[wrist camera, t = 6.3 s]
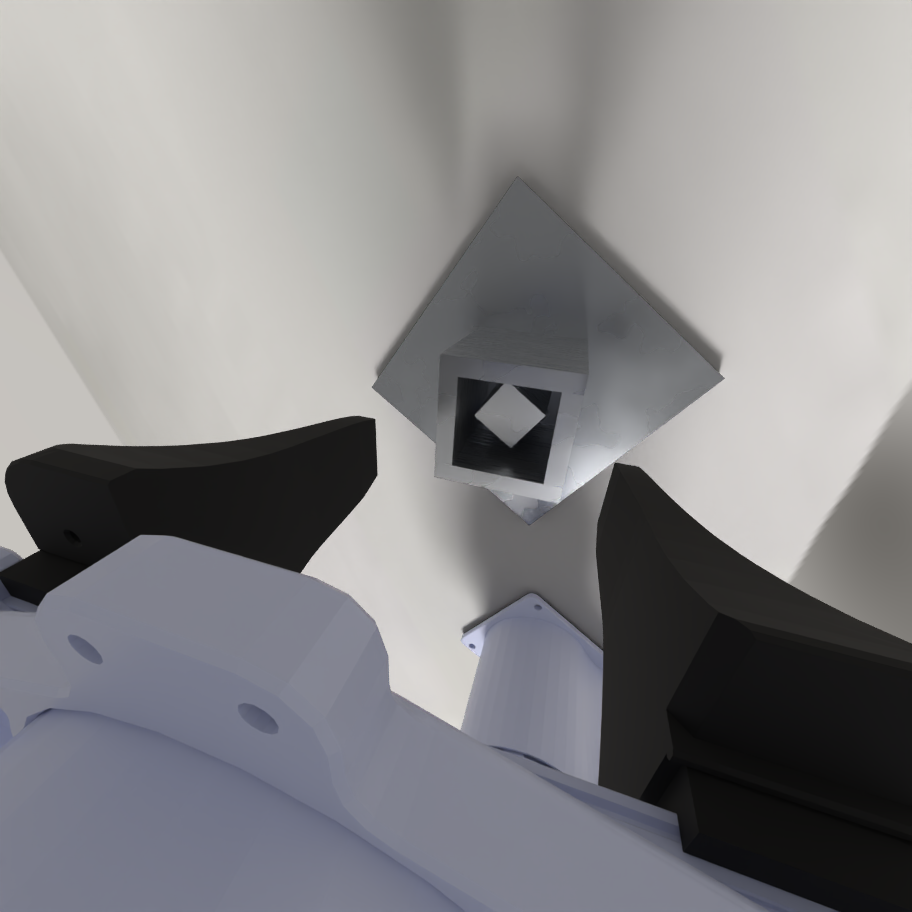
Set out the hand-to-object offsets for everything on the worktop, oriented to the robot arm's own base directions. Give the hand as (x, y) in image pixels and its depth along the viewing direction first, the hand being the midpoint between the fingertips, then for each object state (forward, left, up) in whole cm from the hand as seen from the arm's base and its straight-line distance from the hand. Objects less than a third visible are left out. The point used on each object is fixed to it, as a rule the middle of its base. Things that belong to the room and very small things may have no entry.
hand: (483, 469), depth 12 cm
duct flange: (0, 0, -10) cm, 10 cm away
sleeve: (0, 0, -9) cm, 9 cm away
